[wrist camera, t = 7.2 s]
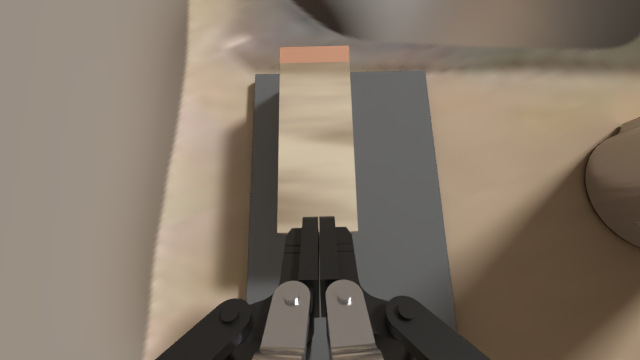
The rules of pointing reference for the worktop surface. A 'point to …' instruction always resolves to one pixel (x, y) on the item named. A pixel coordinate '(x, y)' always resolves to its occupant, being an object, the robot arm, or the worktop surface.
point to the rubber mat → (364, 196)
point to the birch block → (315, 138)
